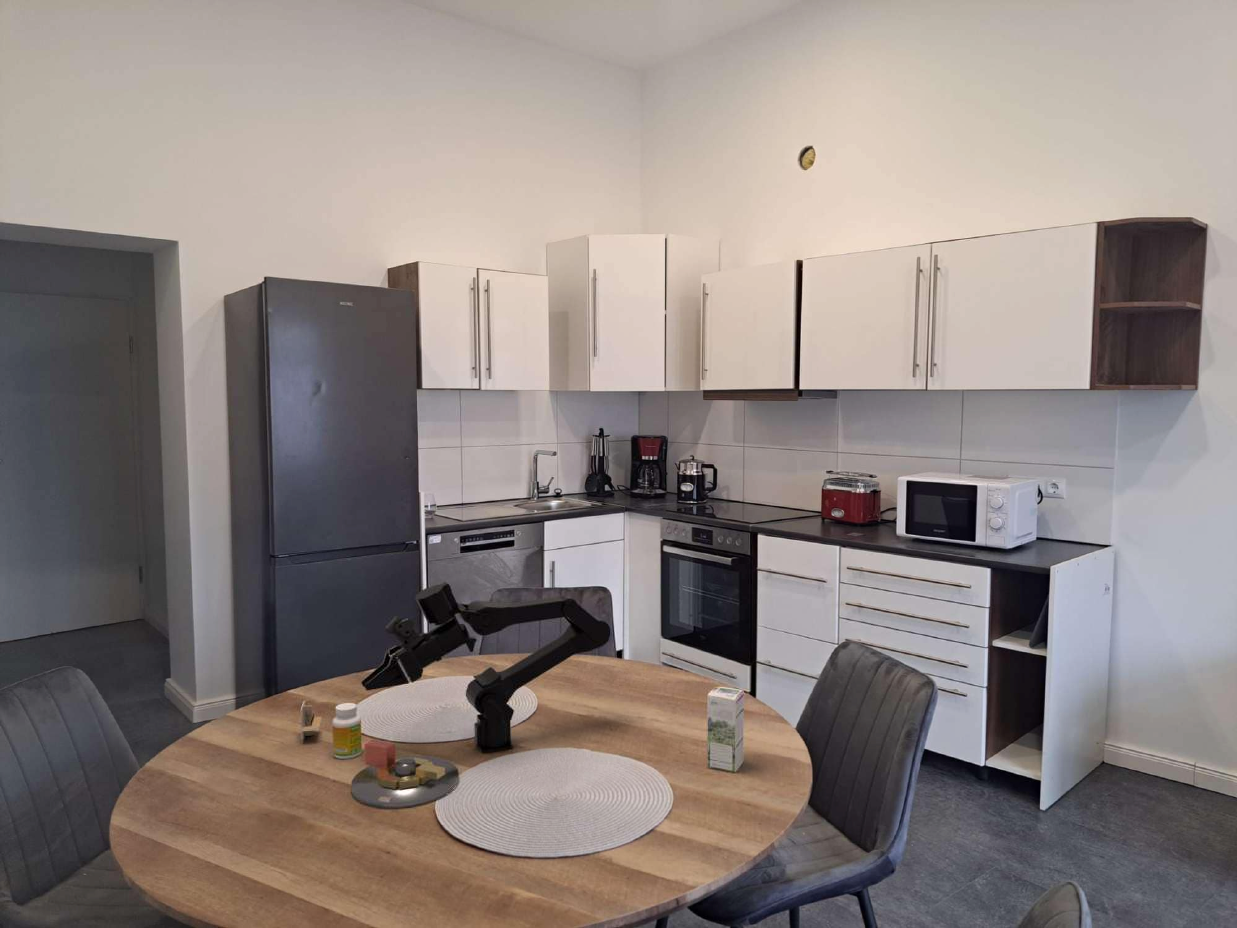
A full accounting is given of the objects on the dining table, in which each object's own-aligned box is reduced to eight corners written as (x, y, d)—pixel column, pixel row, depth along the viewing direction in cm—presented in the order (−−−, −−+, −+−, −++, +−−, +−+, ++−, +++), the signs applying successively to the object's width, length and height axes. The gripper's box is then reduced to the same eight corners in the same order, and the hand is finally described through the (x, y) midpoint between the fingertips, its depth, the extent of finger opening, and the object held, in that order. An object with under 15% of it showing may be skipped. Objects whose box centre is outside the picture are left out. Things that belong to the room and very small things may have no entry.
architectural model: (322, 733, 180) (320, 698, 180) (318, 745, 174) (317, 710, 173) (305, 734, 180) (303, 700, 179) (301, 747, 173) (299, 711, 172)
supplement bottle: (353, 760, 165) (351, 711, 165) (327, 758, 166) (326, 710, 166) (366, 749, 171) (365, 702, 170) (342, 747, 172) (340, 700, 171)
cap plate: (448, 755, 167) (448, 735, 167) (467, 796, 150) (467, 774, 149) (347, 771, 160) (347, 750, 160) (355, 816, 143) (355, 793, 143)
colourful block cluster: (434, 756, 164) (434, 730, 163) (446, 784, 151) (446, 756, 151) (364, 767, 159) (363, 740, 158) (371, 797, 147) (370, 768, 146)
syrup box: (744, 761, 164) (744, 688, 163) (735, 773, 158) (735, 698, 157) (716, 756, 166) (716, 684, 165) (706, 768, 161) (706, 693, 160)
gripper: (412, 607, 174) (341, 647, 168) (424, 606, 157) (345, 650, 151) (438, 655, 174) (367, 696, 168) (452, 659, 157) (375, 705, 151)
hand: (363, 686), depth 160 cm, fingers open, 9 cm apart
